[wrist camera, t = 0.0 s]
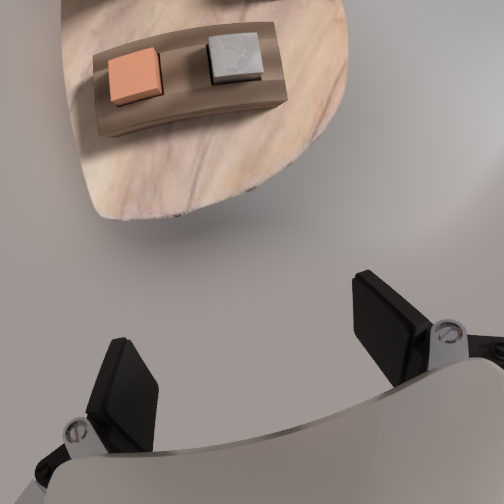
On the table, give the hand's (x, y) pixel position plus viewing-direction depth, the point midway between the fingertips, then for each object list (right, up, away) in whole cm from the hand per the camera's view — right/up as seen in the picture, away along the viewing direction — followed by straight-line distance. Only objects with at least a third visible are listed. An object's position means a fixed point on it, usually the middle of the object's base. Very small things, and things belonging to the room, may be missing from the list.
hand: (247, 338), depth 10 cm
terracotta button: (-14, +25, +18) cm, 34 cm away
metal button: (-2, +27, +19) cm, 33 cm away
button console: (-9, +28, +22) cm, 36 cm away
